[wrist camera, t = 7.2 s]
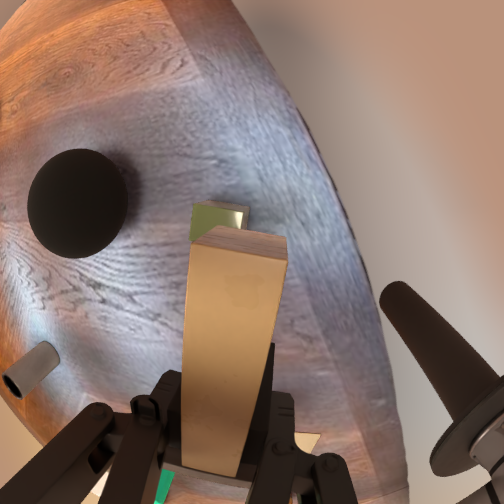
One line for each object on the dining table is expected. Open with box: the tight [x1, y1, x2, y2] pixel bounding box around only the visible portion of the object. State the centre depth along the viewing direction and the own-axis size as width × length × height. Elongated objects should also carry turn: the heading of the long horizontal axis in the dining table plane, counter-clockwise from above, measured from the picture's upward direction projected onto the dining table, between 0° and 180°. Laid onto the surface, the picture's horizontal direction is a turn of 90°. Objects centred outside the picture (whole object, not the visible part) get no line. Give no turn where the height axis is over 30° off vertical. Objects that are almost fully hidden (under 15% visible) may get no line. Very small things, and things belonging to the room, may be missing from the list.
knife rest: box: [189, 200, 250, 241], centre depth 24 cm, size 4×3×4 cm
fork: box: [162, 225, 288, 489], centre depth 13 cm, size 19×5×8 cm, turn 171°
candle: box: [154, 469, 175, 504], centre depth 31 cm, size 6×6×12 cm
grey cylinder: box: [2, 341, 60, 400], centre depth 29 cm, size 4×4×10 cm
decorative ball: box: [27, 149, 128, 259], centre depth 22 cm, size 10×10×10 cm
